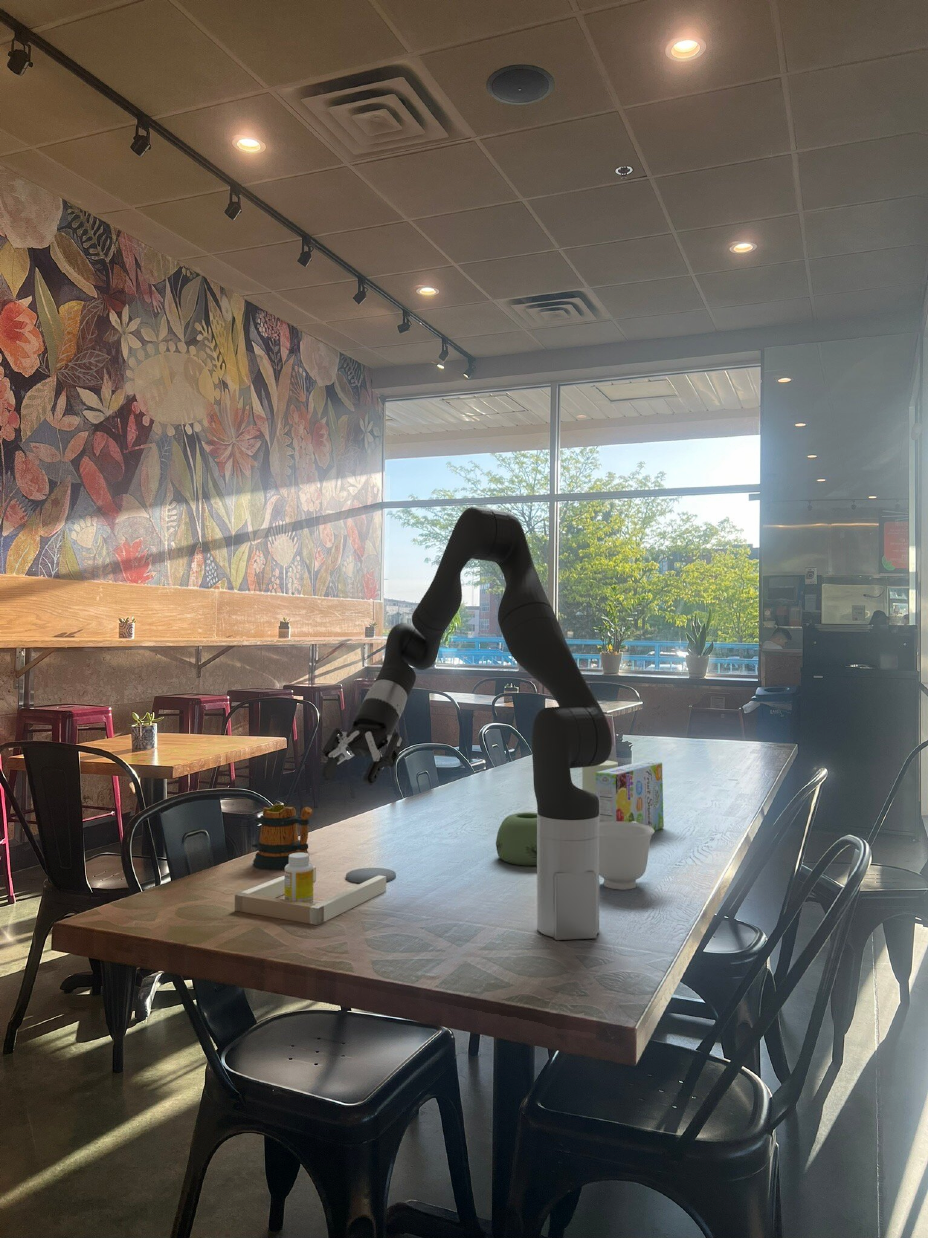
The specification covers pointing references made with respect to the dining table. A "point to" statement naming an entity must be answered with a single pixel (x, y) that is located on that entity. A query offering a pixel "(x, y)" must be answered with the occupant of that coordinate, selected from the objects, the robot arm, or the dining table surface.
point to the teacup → (623, 853)
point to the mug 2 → (518, 839)
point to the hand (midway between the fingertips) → (346, 781)
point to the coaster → (369, 874)
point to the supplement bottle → (299, 878)
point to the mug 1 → (280, 836)
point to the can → (594, 775)
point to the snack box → (632, 794)
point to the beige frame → (267, 904)
